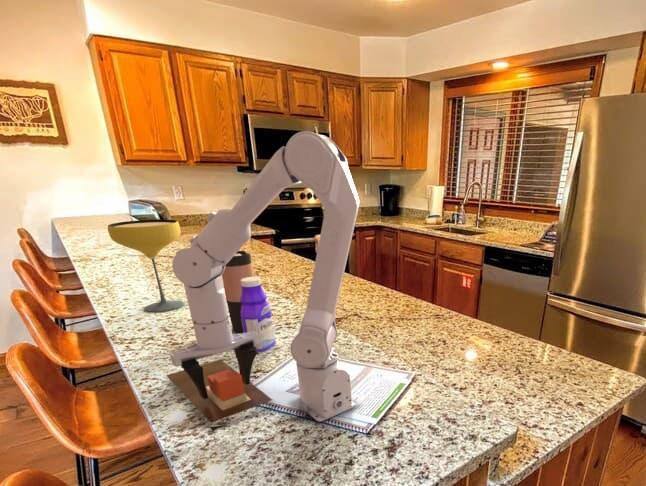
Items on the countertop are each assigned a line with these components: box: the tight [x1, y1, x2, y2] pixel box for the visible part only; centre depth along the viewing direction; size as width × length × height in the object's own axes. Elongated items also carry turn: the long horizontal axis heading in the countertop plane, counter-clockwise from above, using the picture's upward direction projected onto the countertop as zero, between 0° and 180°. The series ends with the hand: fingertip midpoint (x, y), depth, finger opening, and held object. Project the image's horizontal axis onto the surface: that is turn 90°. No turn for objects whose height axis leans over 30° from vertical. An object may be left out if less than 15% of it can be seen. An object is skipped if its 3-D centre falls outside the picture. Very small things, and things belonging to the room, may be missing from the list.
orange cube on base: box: [206, 370, 247, 407], centre depth 77 cm, size 8×4×5 cm, turn 43°
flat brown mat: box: [166, 359, 273, 431], centre depth 82 cm, size 24×11×2 cm, turn 43°
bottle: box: [240, 276, 277, 353], centre depth 97 cm, size 7×6×17 cm
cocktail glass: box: [107, 218, 185, 313], centre depth 127 cm, size 18×18×25 cm
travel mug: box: [221, 250, 255, 334], centre depth 110 cm, size 8×8×20 cm
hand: (225, 389), depth 78 cm, fingers open, 7 cm apart
